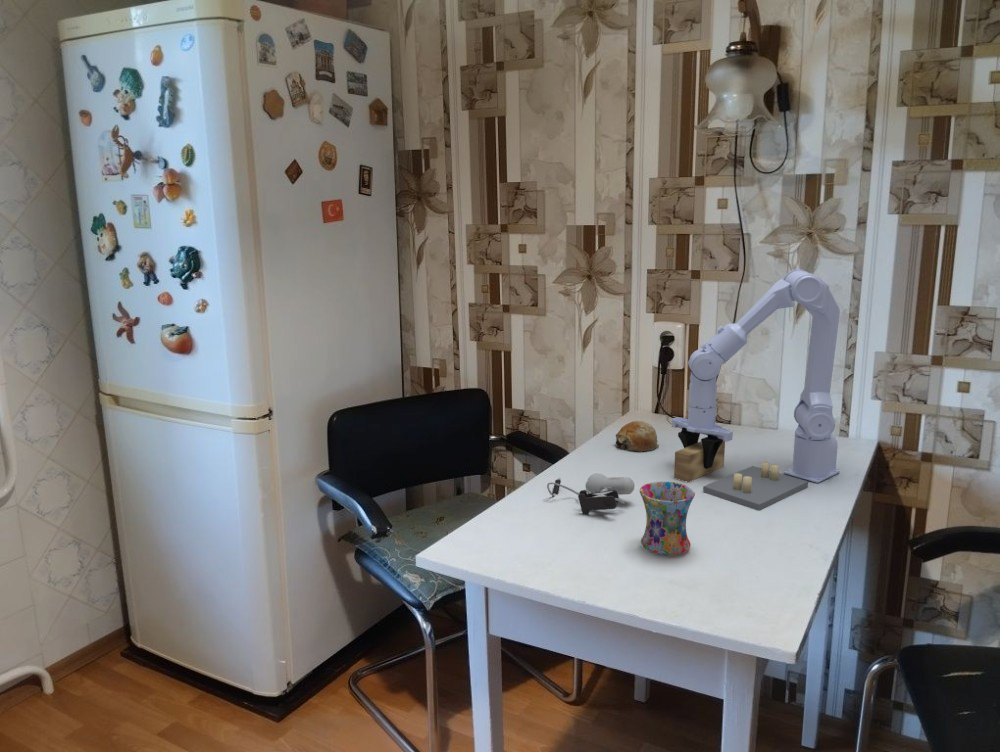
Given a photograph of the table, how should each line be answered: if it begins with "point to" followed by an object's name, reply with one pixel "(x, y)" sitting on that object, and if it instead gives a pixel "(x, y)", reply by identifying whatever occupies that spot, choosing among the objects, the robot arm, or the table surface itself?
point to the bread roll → (637, 437)
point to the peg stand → (756, 486)
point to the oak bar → (695, 462)
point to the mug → (666, 517)
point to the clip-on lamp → (599, 492)
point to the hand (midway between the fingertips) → (699, 465)
